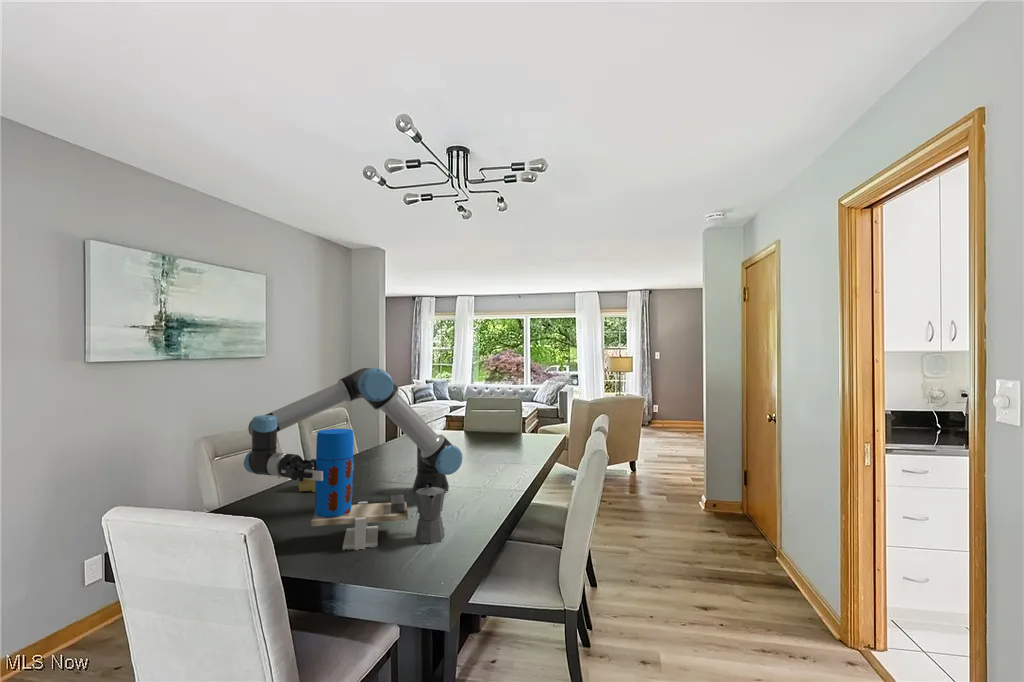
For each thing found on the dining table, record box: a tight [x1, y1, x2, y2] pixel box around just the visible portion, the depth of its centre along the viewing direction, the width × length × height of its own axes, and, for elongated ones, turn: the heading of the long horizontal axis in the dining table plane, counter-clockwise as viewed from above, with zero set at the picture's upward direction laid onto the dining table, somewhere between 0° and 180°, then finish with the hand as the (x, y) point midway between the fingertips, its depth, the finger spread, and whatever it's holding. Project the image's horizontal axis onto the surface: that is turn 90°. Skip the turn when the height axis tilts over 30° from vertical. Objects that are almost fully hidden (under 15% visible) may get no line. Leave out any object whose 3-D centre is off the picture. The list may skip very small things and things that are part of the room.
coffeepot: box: [414, 481, 446, 544], centre depth 158 cm, size 15×9×18 cm, turn 13°
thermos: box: [314, 428, 355, 517], centre depth 155 cm, size 11×11×25 cm
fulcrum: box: [342, 501, 379, 551], centre depth 157 cm, size 10×18×9 cm, turn 14°
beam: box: [310, 494, 409, 527], centre depth 157 cm, size 28×14×5 cm, turn 104°
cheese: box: [298, 467, 316, 493], centre depth 214 cm, size 10×11×10 cm
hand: (338, 471), depth 154 cm, fingers open, 13 cm apart
